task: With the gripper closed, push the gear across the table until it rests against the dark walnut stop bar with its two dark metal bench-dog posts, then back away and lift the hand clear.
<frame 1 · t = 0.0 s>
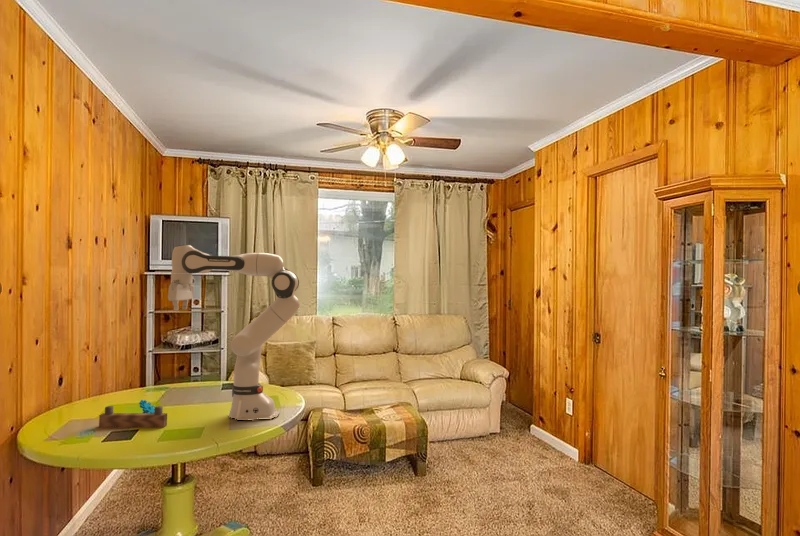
hand: (180, 310, 212), 48 cm above the table, tool pointing down, fingers open, 8 cm apart
gear: (148, 417, 208), on the table
stop bar: (133, 426, 194), on the table
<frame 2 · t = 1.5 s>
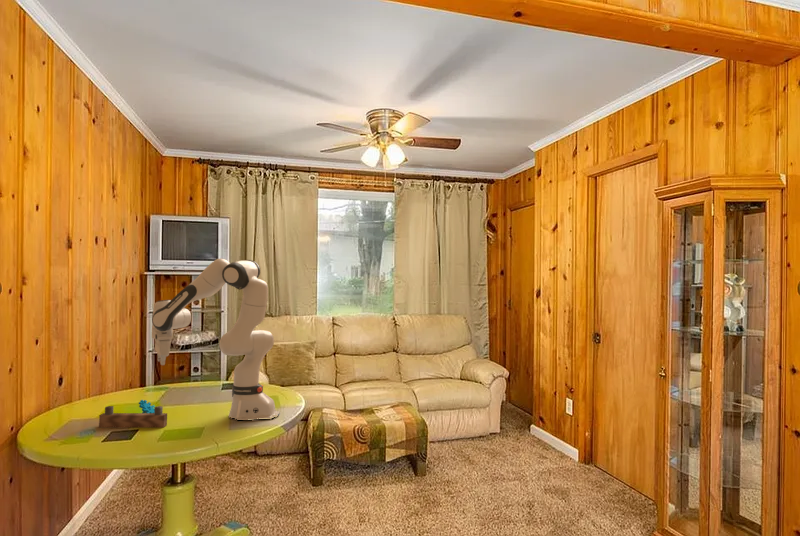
hand: (161, 363, 220), 22 cm above the table, tool pointing down, fingers open, 8 cm apart
nothing on the table moved.
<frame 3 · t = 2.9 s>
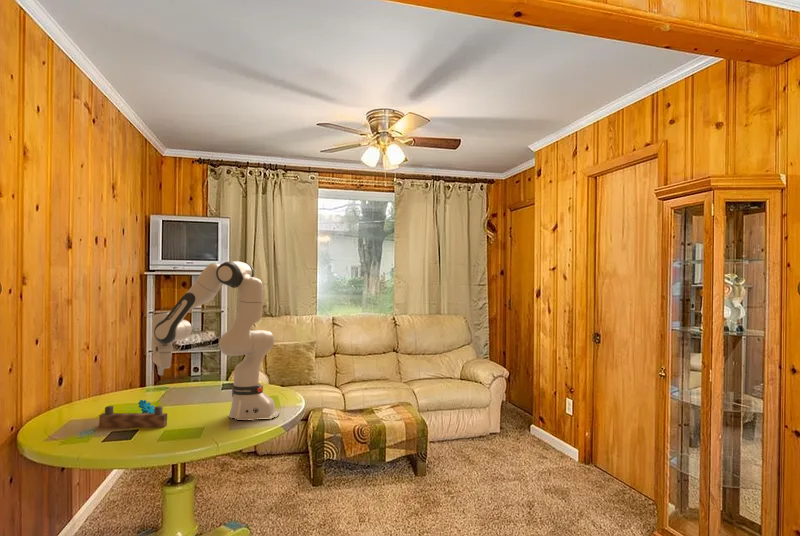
hand: (160, 374, 220), 16 cm above the table, tool pointing down, fingers closed
nothing on the table moved.
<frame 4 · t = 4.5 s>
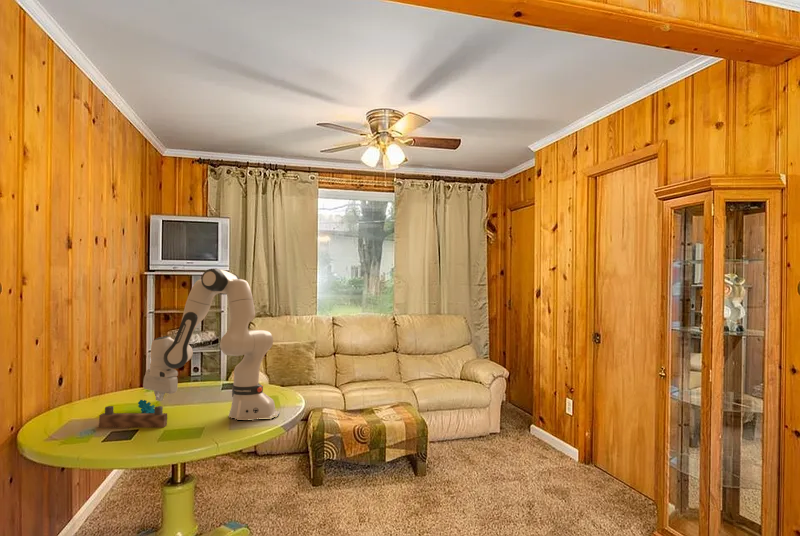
hand: (159, 400, 218), 5 cm above the table, tool pointing down, fingers closed
nothing on the table moved.
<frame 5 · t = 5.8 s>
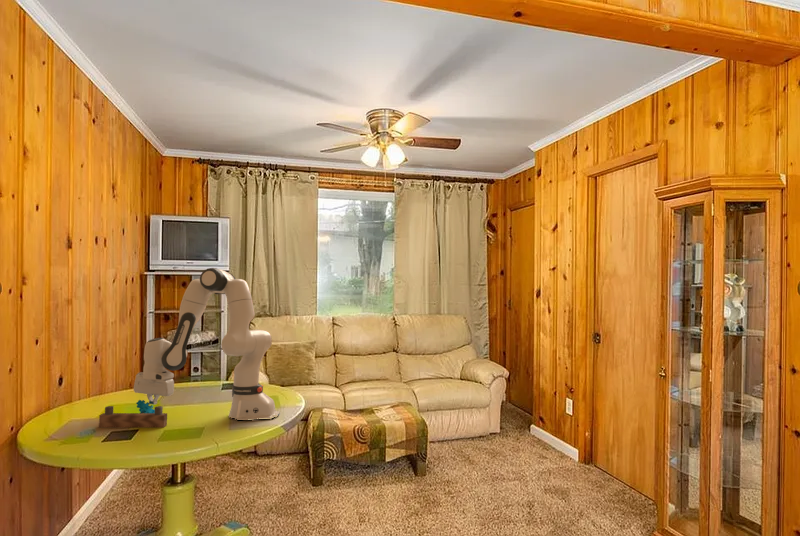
hand: (153, 403, 212), 5 cm above the table, tool pointing down, fingers closed
gear: (146, 417, 207), on the table, touching gripper
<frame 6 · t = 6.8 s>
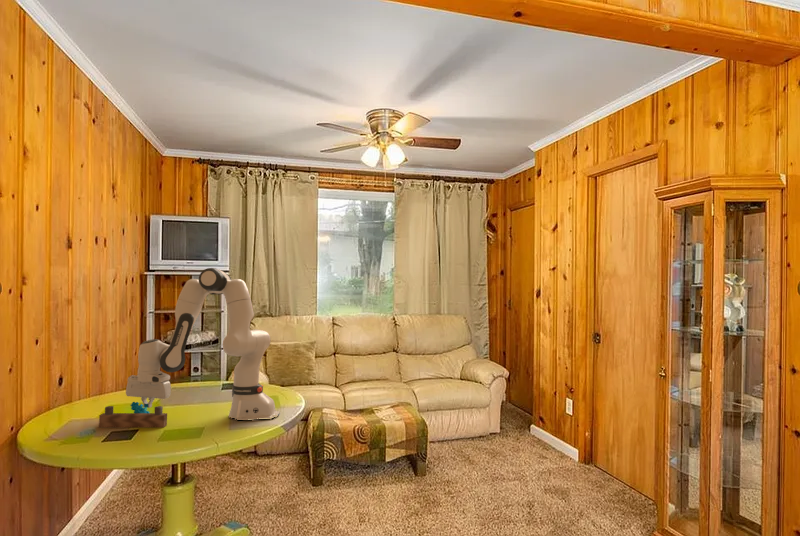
hand: (147, 407, 207), 5 cm above the table, tool pointing down, fingers closed
gear: (140, 419, 204), on the table, touching gripper
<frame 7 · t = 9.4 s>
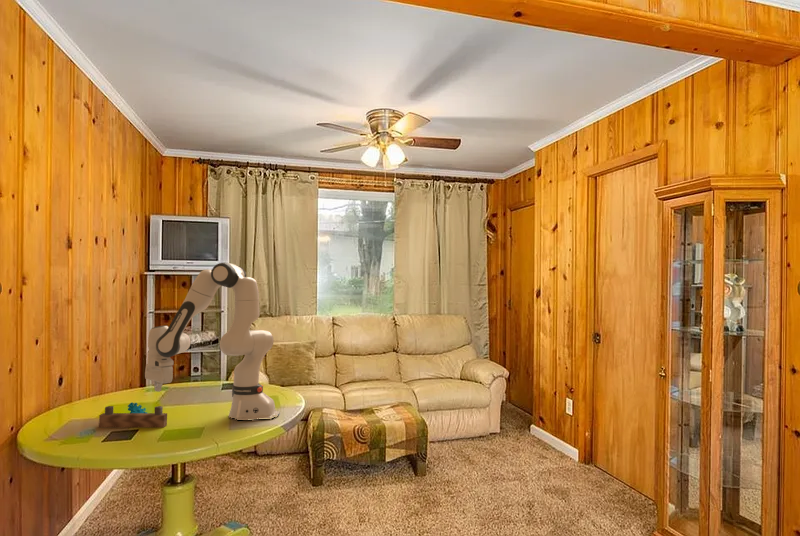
hand: (157, 390, 214), 10 cm above the table, tool pointing down, fingers closed
gear: (138, 420, 203), on the table
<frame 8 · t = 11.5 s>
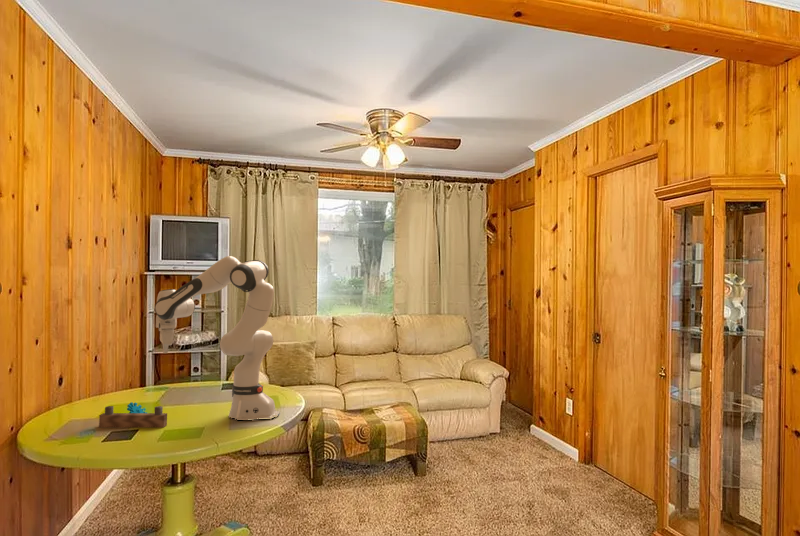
hand: (165, 352, 219), 27 cm above the table, tool pointing down, fingers closed
nothing on the table moved.
at the end: gear inside the target area (3.0 cm from its centre), on the table; gear moved 5.4 cm from its start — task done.
